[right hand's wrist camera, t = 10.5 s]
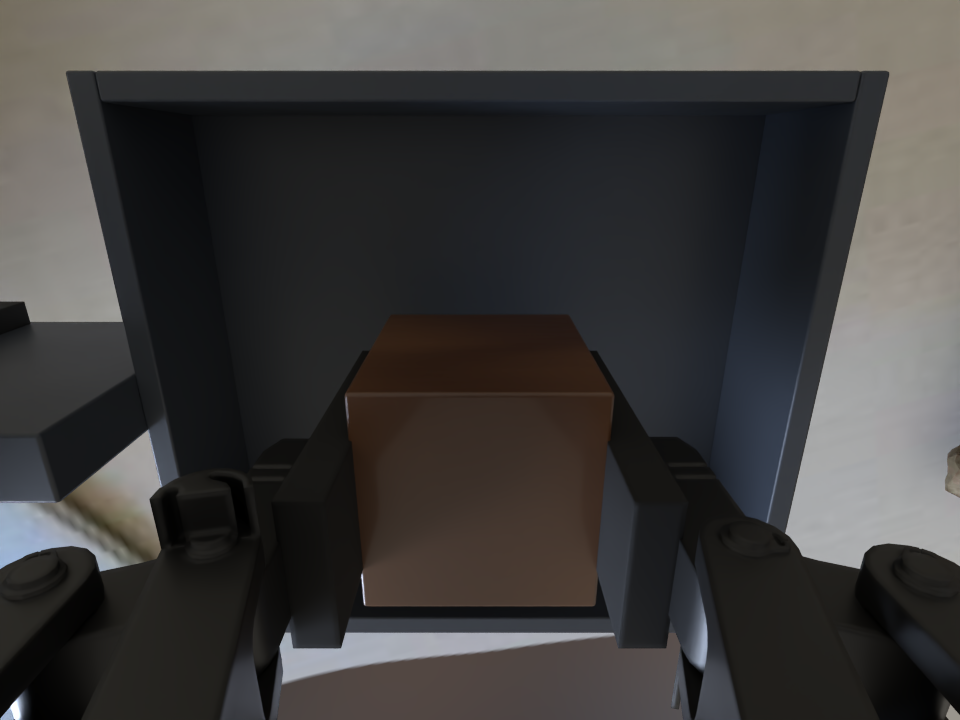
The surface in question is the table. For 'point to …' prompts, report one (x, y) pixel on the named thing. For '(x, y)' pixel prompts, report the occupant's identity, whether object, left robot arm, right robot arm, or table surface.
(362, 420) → the block
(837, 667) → the right robot arm
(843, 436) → the table surface
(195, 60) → the table surface
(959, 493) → the stone
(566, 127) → the tray
